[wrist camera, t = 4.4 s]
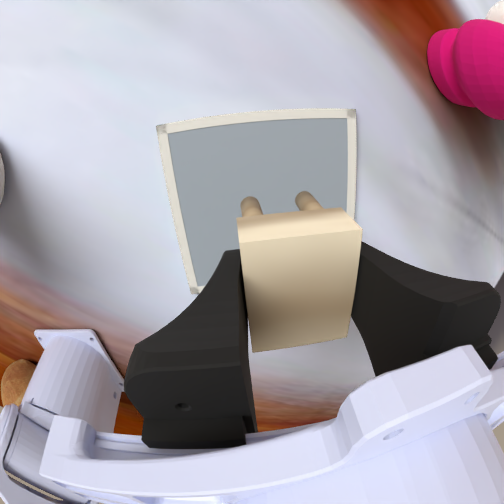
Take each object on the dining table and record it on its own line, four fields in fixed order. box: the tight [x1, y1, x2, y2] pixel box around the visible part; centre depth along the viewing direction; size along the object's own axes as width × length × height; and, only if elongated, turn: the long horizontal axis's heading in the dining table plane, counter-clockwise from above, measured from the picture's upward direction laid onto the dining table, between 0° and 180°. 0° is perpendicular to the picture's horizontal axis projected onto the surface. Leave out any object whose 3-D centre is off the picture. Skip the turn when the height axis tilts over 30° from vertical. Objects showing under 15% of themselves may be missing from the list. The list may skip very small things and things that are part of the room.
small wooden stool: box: [236, 191, 363, 353], centre depth 12 cm, size 5×4×5 cm
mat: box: [156, 108, 356, 294], centre depth 18 cm, size 12×12×1 cm
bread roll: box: [1, 359, 37, 406], centre depth 24 cm, size 10×15×8 cm, turn 160°
